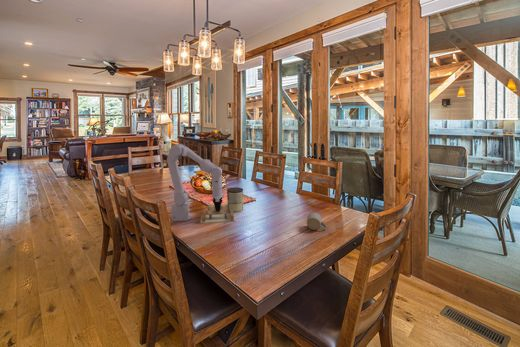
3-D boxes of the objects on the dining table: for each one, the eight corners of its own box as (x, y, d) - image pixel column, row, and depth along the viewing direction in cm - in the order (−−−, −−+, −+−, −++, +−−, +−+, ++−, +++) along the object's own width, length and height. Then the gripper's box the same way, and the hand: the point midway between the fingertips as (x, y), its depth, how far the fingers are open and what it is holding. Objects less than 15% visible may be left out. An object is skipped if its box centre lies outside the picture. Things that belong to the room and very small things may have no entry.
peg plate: (200, 223, 165) (200, 217, 165) (201, 216, 177) (201, 210, 176) (235, 221, 168) (235, 215, 167) (234, 214, 180) (234, 209, 179)
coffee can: (224, 210, 189) (223, 189, 187) (237, 207, 196) (236, 186, 193) (233, 213, 181) (232, 192, 179) (246, 210, 188) (246, 189, 185)
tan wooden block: (207, 214, 169) (207, 206, 168) (208, 212, 173) (207, 205, 172) (228, 213, 171) (228, 206, 170) (228, 211, 175) (228, 204, 174)
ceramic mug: (306, 230, 154) (307, 216, 153) (307, 225, 162) (307, 211, 161) (326, 232, 152) (327, 218, 151) (326, 226, 160) (327, 213, 159)
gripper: (224, 190, 163) (224, 213, 165) (224, 184, 177) (224, 206, 179) (211, 191, 162) (212, 214, 164) (212, 185, 176) (212, 206, 178)
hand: (217, 210), depth 172 cm, fingers closed on tan wooden block, 4 cm apart
